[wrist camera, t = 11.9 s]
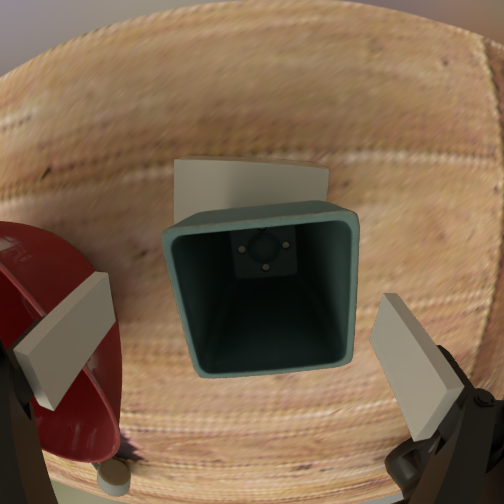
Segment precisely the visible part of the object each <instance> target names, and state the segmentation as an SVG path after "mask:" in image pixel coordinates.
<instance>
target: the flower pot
mask: <svg viewBox="0 0 504 504" xmlns="http://www.w3.org/2000/svg"><path fill="white" fill-rule="evenodd" d="M261 227H265V228H264V229H263V230H260V229H259V228H261ZM359 239H360V225H359V219H358V216H357V214H356V213H355V212H353V211H351V210H348V209H345V208H342V207H340V206H337V205H334V204H331V203H328V202H325V201H320V200H309V201H299V202H289V203H278V204H268V205H258V206H248V207H239V208H230V209H220V210H211V211H203V212H198V213H196V214H194V215H192V216H190V217H188V218H186V219H184V220H182V221H180V222H178V223H177V224H175V225H173V226H171V227H169V228H168V229H166V230H164V231H163V233H162V237H161V243H162V249H163V254H164V258H165V262H166V266H167V270H168V274H169V278H170V281H171V285H172V289H173V293H174V297H175V300H176V305H177V308H178V313H179V315H180V320H181V323H182V328H183V331H184V335H185V339H186V342H187V346H188V350H189V353H190V356H191V360H192V363H193V367H194V370H195V372H196V373H197V374H198V376H199V377H201V378H213V379H215V378H236V377H248V376H260V375H272V374H283V373H291V372H301V371H309V370H318V369H327V368H335V367H340V366H343V365H346V364H348V363H350V362H351V360H352V358H353V350H354V336H355V321H356V304H357V285H358V281H357V280H358V263H359ZM284 242H288V243H289V247H288V248H284V247H283V246H282V245H283V243H284ZM240 246H244V247H245V248H246V251H245V252H243V253H241V252H239V250H238V249H239V247H240ZM264 264H268V265H269V267H270V268H269V269H268V270H264V269H263V268H262V267H263V265H264Z"/></svg>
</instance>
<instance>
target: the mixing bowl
mask: <svg viewBox="0 0 504 504" xmlns="http://www.w3.org/2000/svg"><path fill="white" fill-rule="evenodd" d="M94 272H95V269H94V268H93V267H92V265H91V264H90V263H89V262H88V261H87V260H86V259H85V257H84V256H83V255H82V254H81V253H80V252H79V251H78V250H76V249H75V248H74V247H73V246H72V245H70V244H69V243H68V242H66V241H65V240H63V239H61V238H60V237H58V236H56V235H55V234H53V233H51V232H48V231H45V230H42V229H39V228H36V227H33V226H29V225H25V224H20V223H13V222H5V221H0V337H1V340H2V342H3V345H4V347H5V349H6V350H7V349H8V348H9V347H10V346H11V345H12V344H13V343H14V342H15V340H16V339H17V338H18V337H19V336H20V335H21V334H23V332H24V331H26V330H27V329H29V327H30V326H31V325H32V324H33V323H34V322H35V321H36V320H38V319H40V318H41V317H43V316H47V315H48V314H49V313H50V312H51V311H52V310H53V309H54V308H55V307H56V306H57V305H59V304H60V303H61V302H62V301H63V300H64V299H65V298H66V297H67V296H68V295H69V294H70V293H72V292H73V291H74V290H75V289H76V288H77V287H78V286H79V285H80V284H82V283H83V282H84V281H85V280H86V279H87V278H88V277H89V276H91V275H92V274H93V273H94ZM113 309H114V306H113ZM114 314H115V320H116V321H115V323H114V324H113V325H112V327H111V328H110V330H109V331H108V332H107V334H106V335H105V336H104V338H103V339H102V341H101V342H100V343H99V345H98V346H97V348H96V349H95V350H94V352H93V353H92V355H91V356H90V358H89V359H88V360H87V362H86V363H85V365H84V366H83V368H82V369H81V371H80V372H79V374H78V375H77V377H76V378H75V380H74V381H73V383H72V384H71V386H70V387H69V389H68V390H67V392H66V393H65V395H64V396H63V398H62V399H61V401H60V402H59V404H58V406H57V407H56V409H55V410H54V411H53V410H50V409H48V408H45V407H43V406H41V405H39V403H38V401H37V399H36V398H35V396H34V395H33V397H32V398H31V399H30V401H31V403H32V405H33V410H34V416H35V421H36V426H37V431H38V436H39V441H40V445H41V449H42V450H45V451H47V452H49V453H51V454H54V455H56V456H59V457H62V458H65V459H69V460H73V461H78V462H86V463H95V462H102V461H105V460H108V459H110V458H111V457H113V456H114V455H115V454H116V453H117V451H118V449H119V447H120V441H121V433H120V428H119V420H120V406H121V392H122V354H121V343H120V335H119V326H118V320H117V316H116V312H115V309H114Z"/></svg>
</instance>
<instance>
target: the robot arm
mask: <svg viewBox="0 0 504 504" xmlns="http://www.w3.org/2000/svg"><path fill="white" fill-rule="evenodd" d="M115 321H116V320H115V314H114V309H113V303H112V296H111V290H110V283H109V276H108V273H104V272H96V271H95V272H94V273H93V274H92V275H91V276H89V277H88V278H87V279H86V280H85V281H84V282H83V283H82V284H80V285H79V286H78V287H77V288H76V289H75V290H74V291H73V292H72V293H70V294H69V295H68V296H67V297H66V298H65V299H64V300H63V301H62V302H61V303H60V304H59V305H57V306H56V307H55V308H54V309H53V310H52V311H51V312H50V313H49V314H48V315H47V316H43V317H41V318H40V319H38V320H36V321H35V322H34V323H33V324H32V325H31V326H30V327H29V329H27V330H26V331H24V332H23V334H21V335H20V336H19V337H18V338H17V339H16V340H15V342H14V343H13V344H12V345H11V346H10V347H9V348H8V349H7V350H6V349H5V347H4V345H3V342H2V340H1V337H0V504H58V502H57V499H56V496H55V493H54V490H53V488H52V485H51V481H50V478H49V475H48V471H47V468H46V464H45V461H44V457H43V453H42V449H41V445H40V441H39V436H38V431H37V426H36V421H35V416H34V410H33V405H32V403H31V401H30V399H31V398H32V397H33V395H34V396H35V398H36V399H37V401H38V403H39V405H41V406H43V407H45V408H48V409H50V410H53V411H54V410H55V409H56V407H57V406H58V404H59V402H60V401H61V399H62V398H63V396H64V395H65V393H66V392H67V390H68V389H69V387H70V386H71V384H72V383H73V381H74V380H75V378H76V377H77V375H78V374H79V372H80V371H81V369H82V368H83V366H84V365H85V363H86V362H87V360H88V359H89V358H90V356H91V355H92V353H93V352H94V350H95V349H96V348H97V346H98V345H99V343H100V342H101V341H102V339H103V338H104V336H105V335H106V334H107V332H108V331H109V330H110V328H111V327H112V325H113V324H114V323H115ZM369 341H370V343H371V345H372V347H373V349H374V351H375V353H376V355H377V358H378V360H379V362H380V364H381V366H382V368H383V371H384V373H385V375H386V377H387V379H388V382H389V384H390V386H391V388H392V391H393V393H394V395H395V398H396V400H397V402H398V404H399V407H400V409H401V412H402V414H403V416H404V419H405V421H406V424H407V426H408V428H409V431H410V433H411V436H412V438H411V439H409V440H408V441H406V442H404V443H403V444H401V445H400V446H398V447H397V448H396V449H394V450H393V451H392V452H391V453H390V454H389V455H388V456H387V458H386V459H385V467H386V470H387V472H388V474H389V475H390V476H391V477H392V479H393V480H394V481H395V483H396V484H397V485H398V486H399V487H400V489H401V491H402V494H403V497H404V499H403V500H401V501H398V502H395V503H393V504H504V400H495V398H494V396H493V395H492V394H491V393H490V392H488V391H486V390H484V389H480V388H477V389H475V388H474V387H473V385H472V384H471V382H470V381H469V379H468V378H467V376H466V375H465V373H464V372H463V371H462V369H461V368H459V365H458V364H457V362H456V361H455V359H454V358H453V357H452V355H451V354H450V353H449V351H447V350H446V349H445V348H443V347H442V346H441V345H436V344H435V343H434V342H433V340H432V339H431V338H430V336H429V335H428V333H427V332H426V331H425V329H424V328H423V327H422V325H421V324H420V323H419V321H418V320H417V319H416V317H415V316H414V315H413V314H412V312H411V311H410V310H409V308H408V307H407V306H406V305H405V303H404V302H403V301H402V299H401V298H400V297H399V296H398V294H397V293H383V295H382V299H381V303H380V306H379V310H378V313H377V317H376V320H375V324H374V327H373V330H372V333H371V337H370V340H369Z"/></svg>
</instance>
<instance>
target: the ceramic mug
mask: <svg viewBox="0 0 504 504" xmlns="http://www.w3.org/2000/svg"><path fill="white" fill-rule="evenodd" d="M91 464H92V465H93V466H94V467H95V469H96V470H97V482H98V485H99V487H100V488H101V489H102V490H103V491H104V492H105V493H106V494H108V495H111V496H115V497H119V496H123V495H125V494H126V493H127V492H128V491H129V488H130V480H131V474H130V471H129V469H128V467H127V466H126V465H125V464H124V463H123V462H122V461H119V460H117V459H111V458H110V459H108V460H105V461H102V462H99V463H98V462H95V463H91Z"/></svg>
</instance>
